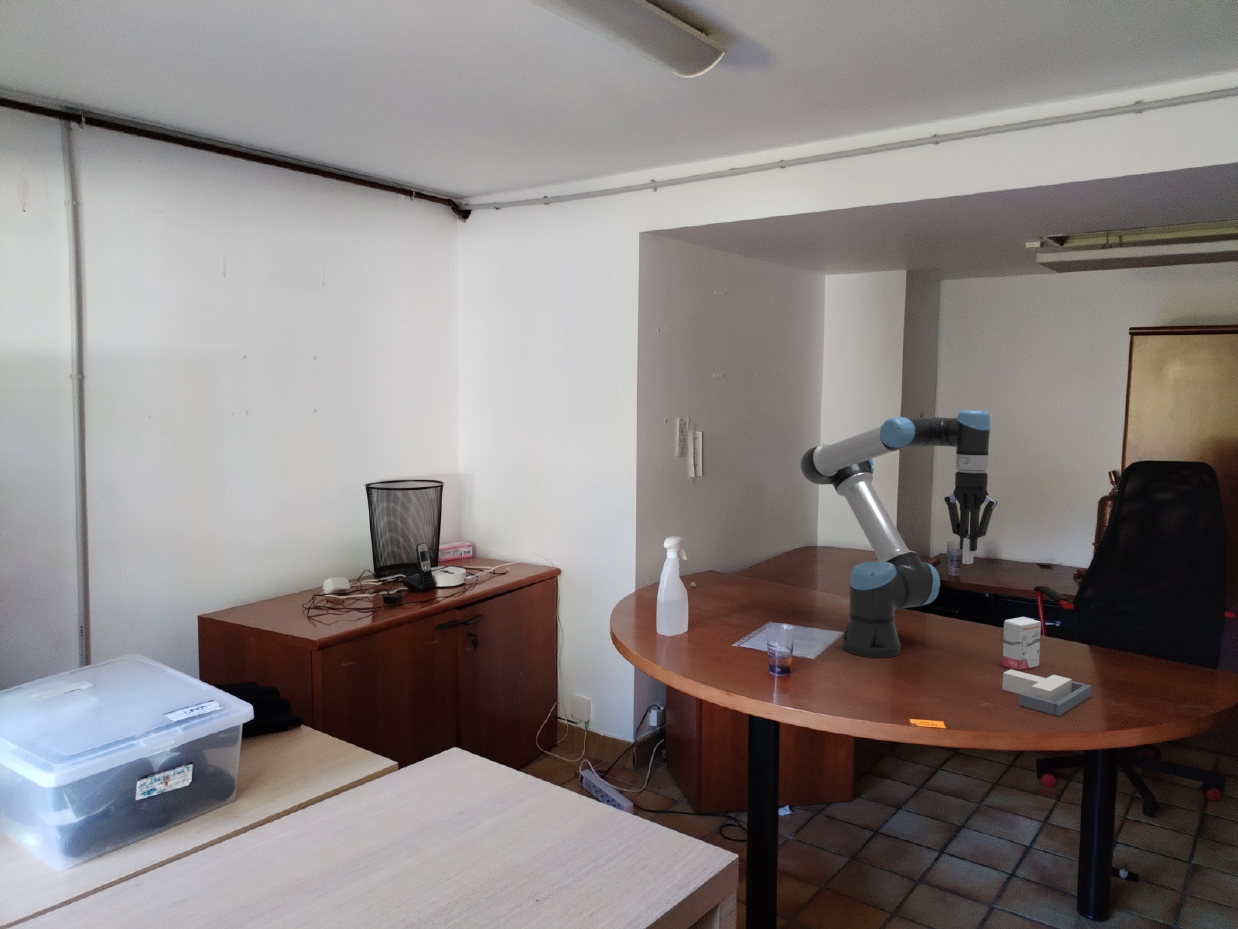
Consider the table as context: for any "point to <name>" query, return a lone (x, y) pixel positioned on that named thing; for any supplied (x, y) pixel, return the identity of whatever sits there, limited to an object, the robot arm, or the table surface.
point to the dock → (1061, 706)
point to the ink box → (1021, 643)
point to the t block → (1037, 685)
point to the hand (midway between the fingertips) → (967, 563)
